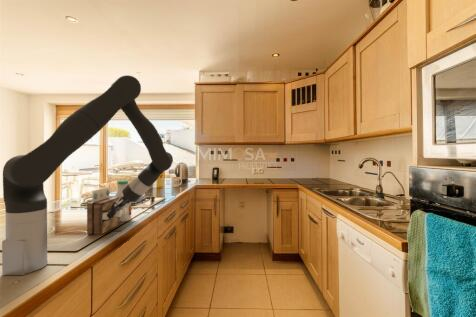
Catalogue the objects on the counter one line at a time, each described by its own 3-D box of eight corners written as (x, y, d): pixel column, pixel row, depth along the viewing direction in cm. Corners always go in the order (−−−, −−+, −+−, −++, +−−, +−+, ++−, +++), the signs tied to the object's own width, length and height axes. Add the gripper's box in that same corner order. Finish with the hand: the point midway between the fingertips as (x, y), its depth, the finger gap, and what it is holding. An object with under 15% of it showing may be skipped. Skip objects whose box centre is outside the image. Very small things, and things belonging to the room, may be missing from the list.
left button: (105, 220, 102) (105, 213, 102) (94, 220, 103) (94, 213, 103) (109, 218, 105) (109, 211, 105) (98, 218, 106) (98, 211, 106)
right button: (124, 215, 112) (124, 208, 112) (113, 214, 112) (113, 208, 112) (127, 213, 115) (127, 207, 115) (116, 213, 115) (116, 206, 115)
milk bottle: (125, 222, 119) (125, 181, 119) (111, 221, 120) (111, 181, 120) (134, 218, 127) (134, 180, 126) (120, 217, 128) (120, 179, 127)
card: (94, 202, 103) (94, 190, 103) (92, 202, 103) (92, 190, 103) (109, 197, 115) (109, 186, 115) (108, 197, 115) (108, 186, 115)
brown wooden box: (100, 234, 101) (100, 203, 101) (87, 234, 102) (87, 203, 101) (119, 224, 116) (119, 197, 116) (107, 223, 117) (107, 196, 116)
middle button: (118, 217, 107) (118, 210, 107) (107, 217, 107) (107, 210, 107) (122, 215, 110) (122, 209, 110) (111, 215, 110) (111, 209, 110)
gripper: (137, 180, 110) (111, 207, 110) (122, 183, 97) (93, 214, 97) (149, 192, 110) (122, 218, 110) (136, 197, 97) (106, 227, 97)
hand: (108, 216), depth 104 cm, fingers closed
